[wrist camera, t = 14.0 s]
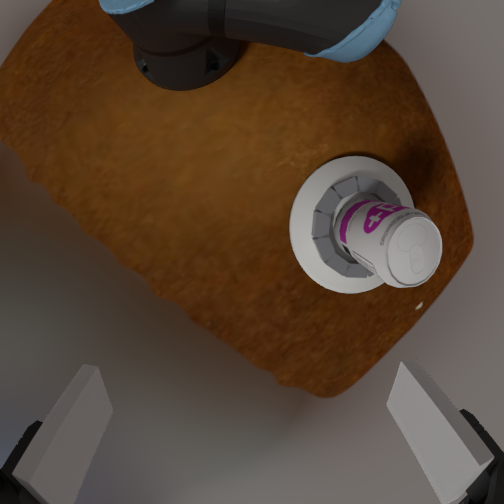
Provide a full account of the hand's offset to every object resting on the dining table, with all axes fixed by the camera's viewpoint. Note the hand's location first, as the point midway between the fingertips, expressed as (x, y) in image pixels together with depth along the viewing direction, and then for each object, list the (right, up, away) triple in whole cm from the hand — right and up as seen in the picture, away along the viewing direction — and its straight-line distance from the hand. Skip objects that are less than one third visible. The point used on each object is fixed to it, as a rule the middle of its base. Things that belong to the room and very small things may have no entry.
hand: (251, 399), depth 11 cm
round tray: (+15, +10, +30) cm, 35 cm away
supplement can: (+15, +10, +29) cm, 34 cm away
